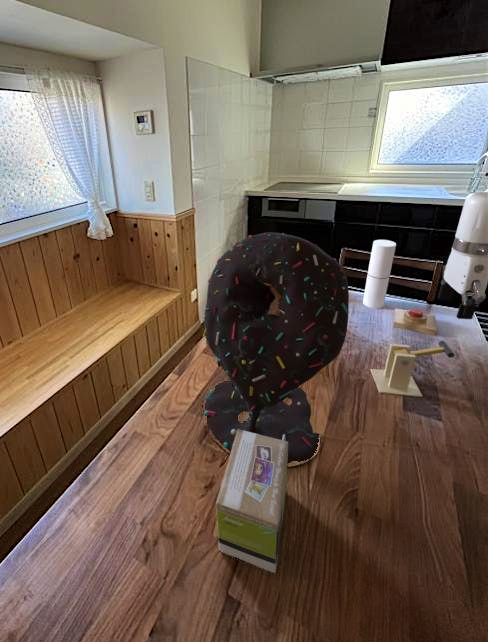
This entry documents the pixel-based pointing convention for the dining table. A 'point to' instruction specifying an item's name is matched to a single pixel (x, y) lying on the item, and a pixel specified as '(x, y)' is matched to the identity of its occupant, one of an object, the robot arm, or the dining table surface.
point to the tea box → (253, 499)
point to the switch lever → (429, 350)
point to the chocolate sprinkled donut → (272, 336)
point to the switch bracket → (397, 373)
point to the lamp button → (416, 312)
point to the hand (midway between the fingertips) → (453, 308)
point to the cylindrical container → (379, 273)
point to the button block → (414, 322)
